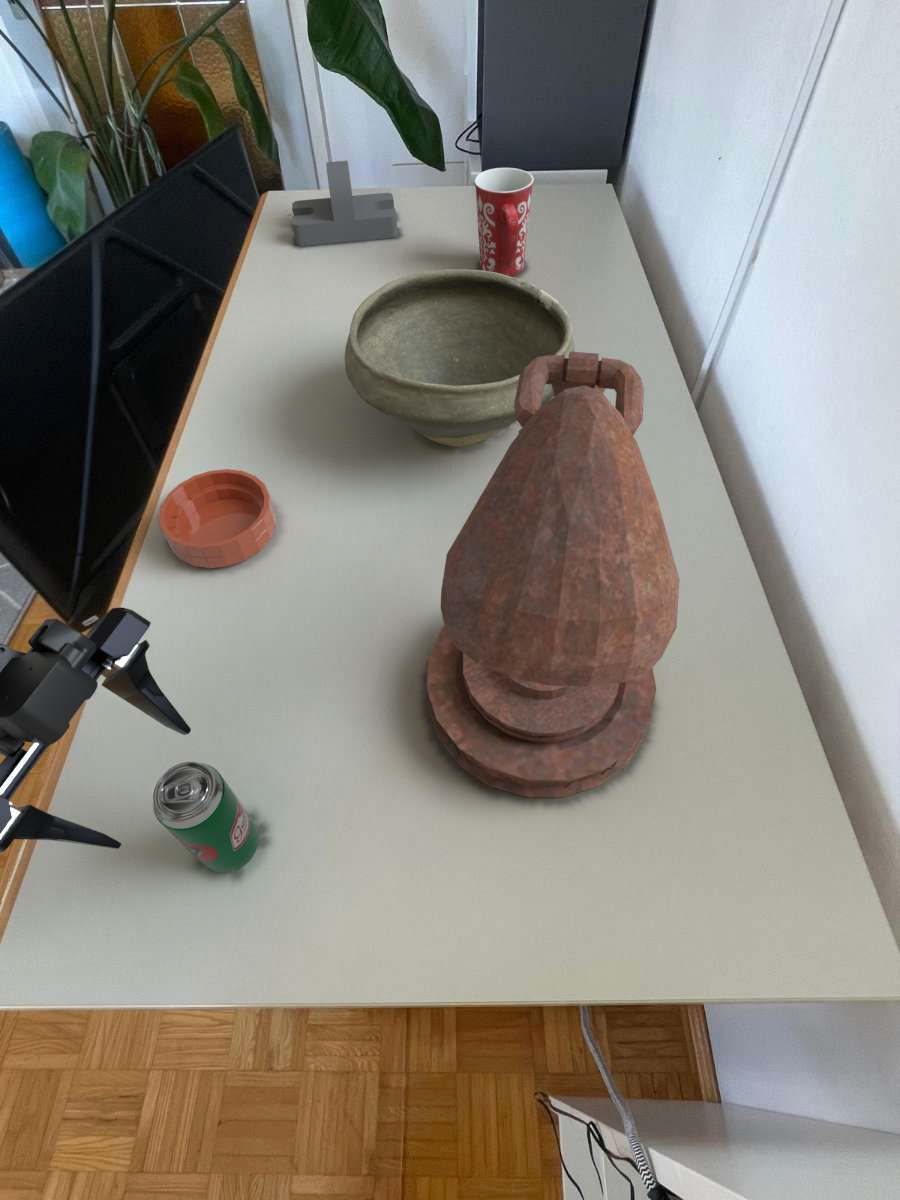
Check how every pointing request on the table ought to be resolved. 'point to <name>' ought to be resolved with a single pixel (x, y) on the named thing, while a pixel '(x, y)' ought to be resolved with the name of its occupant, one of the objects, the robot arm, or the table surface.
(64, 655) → the robot arm
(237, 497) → the dish
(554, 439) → the rusty bell weight
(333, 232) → the bracket
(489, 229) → the mug
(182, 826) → the soda can
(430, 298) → the bowl
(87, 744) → the table surface
